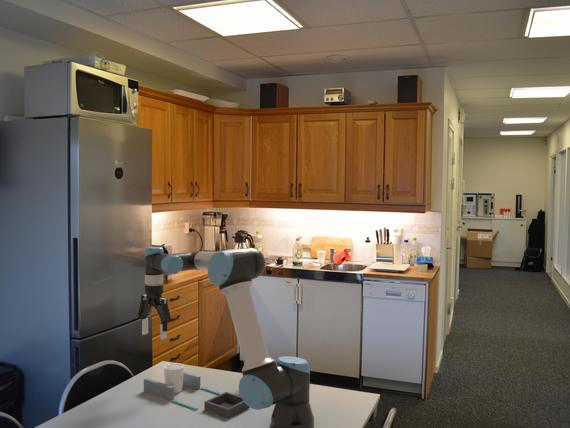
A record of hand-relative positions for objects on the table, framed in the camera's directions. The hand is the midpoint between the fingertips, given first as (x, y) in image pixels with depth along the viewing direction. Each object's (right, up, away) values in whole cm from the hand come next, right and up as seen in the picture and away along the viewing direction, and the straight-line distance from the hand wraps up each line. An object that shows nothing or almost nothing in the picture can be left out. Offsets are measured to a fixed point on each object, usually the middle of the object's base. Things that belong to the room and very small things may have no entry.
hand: (154, 336), depth 221 cm
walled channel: (+9, -20, -5) cm, 23 cm away
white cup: (+10, -21, -6) cm, 24 cm away
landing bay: (+21, -21, -14) cm, 33 cm away
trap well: (+33, -22, -23) cm, 46 cm away
